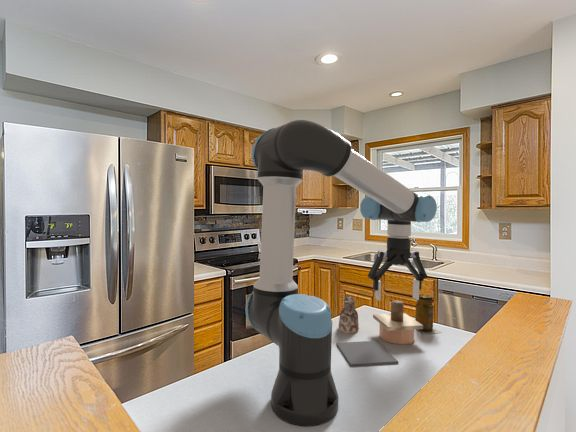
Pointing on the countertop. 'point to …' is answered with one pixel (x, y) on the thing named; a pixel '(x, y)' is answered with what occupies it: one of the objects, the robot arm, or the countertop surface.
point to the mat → (366, 353)
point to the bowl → (397, 336)
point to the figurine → (348, 316)
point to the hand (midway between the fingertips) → (396, 299)
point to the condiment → (425, 314)
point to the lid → (397, 318)
